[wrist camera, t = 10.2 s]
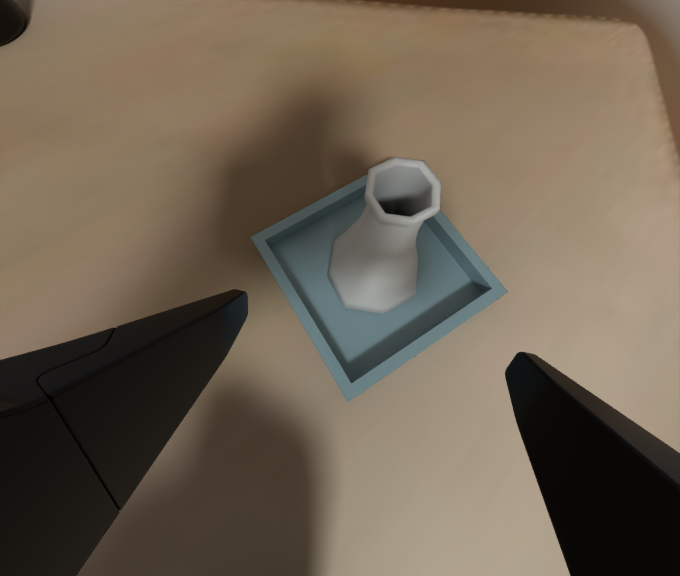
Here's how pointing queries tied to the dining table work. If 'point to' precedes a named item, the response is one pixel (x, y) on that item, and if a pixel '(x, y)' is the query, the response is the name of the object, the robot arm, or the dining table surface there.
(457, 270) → the tray
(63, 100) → the dining table surface
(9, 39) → the supplement bottle
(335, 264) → the flask
